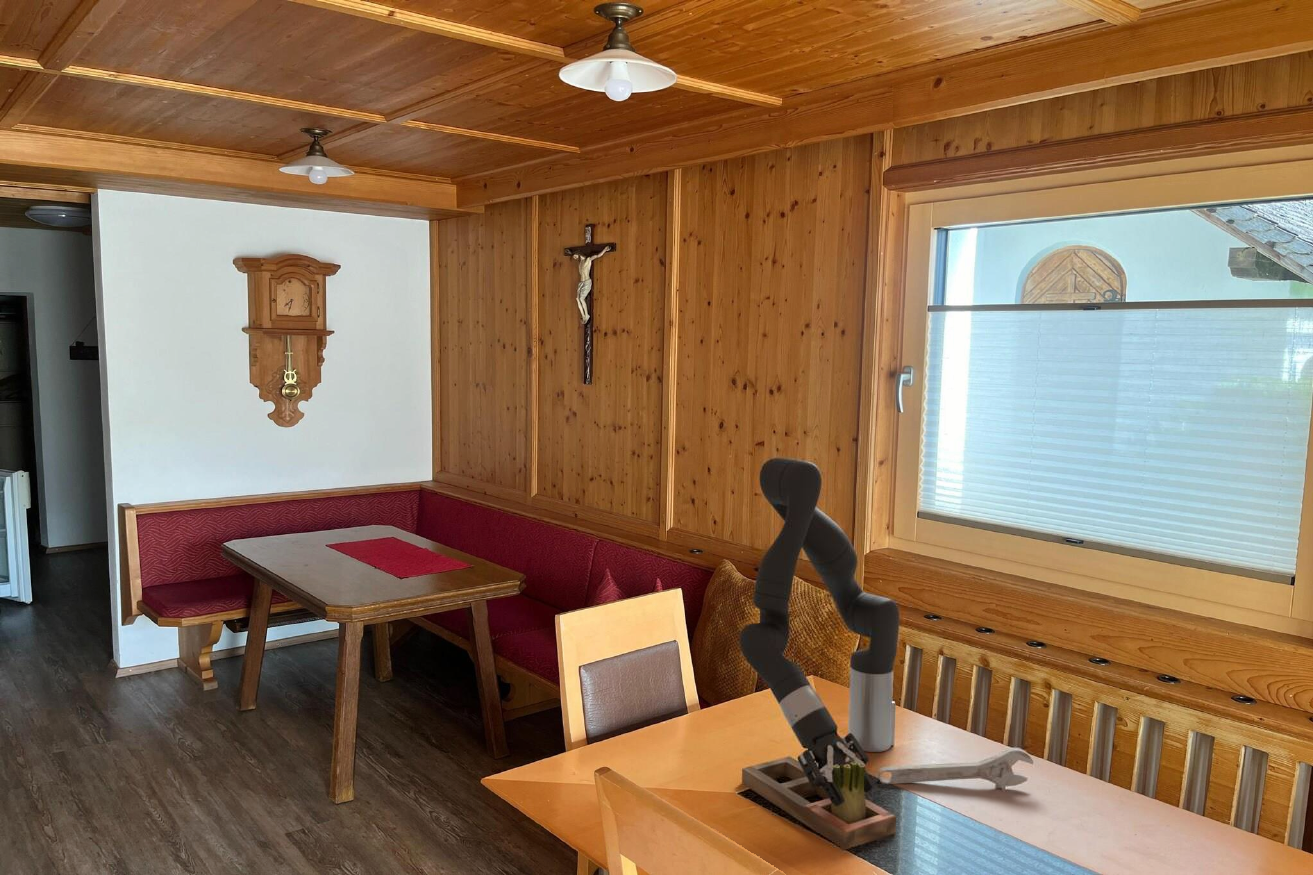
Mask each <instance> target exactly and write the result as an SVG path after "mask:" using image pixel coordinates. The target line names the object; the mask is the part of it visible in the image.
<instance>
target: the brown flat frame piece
mask: <svg viewBox="0 0 1313 875" xmlns="http://www.w3.org/2000/svg"><path fill="white" fill-rule="evenodd" d="M741 771H742V772H741V783H742V784H743V785H744V786H746V787H747V788H749V789H750V790H752V791H753V792H755V793H757V794H758V795H760V796H761V797H762V798H764V799H766V800H767V801H769V802H770V803H772V804H773V805H775V806H777V807H778V808H780V809H781V810H783V811H784V812H786V813H787V814H789V815H790V816H791V817H793V818H795V819H796V820H798V821H800V822H801V823H803V824H804V825H806V826H807V827H809V828H810V829H812V830H813V831H815V832H816V833H818V834H819V833H820V835H821V836H822V835H823V837H824V838H825V837H826V838H825V839H827V838H828V839H829V840H828V839H827V840H828V841H830V840H831V841H832V842H831V841H830V842H831V843H833V842H834V843H835V845H836V844H837V845H836V846H838V847H839V846H840V847H839V848H841V847H842V848H843V849H842V848H841V849H842V850H844V849H847V850H850V849H852V848H851V847H853V848H855V846H856V847H858V845H859V846H862V845H865V844H867V843H870V842H873V841H876V840H880V839H883V838H886V837H889V836H892V835H895V834H896V833H897V832H896V831H897V830H896V828H897V816H896V815H895V814H893V813H892V812H890V811H887V810H886V809H885V808H883V807H881V806H879V805H878V804H876V803H873V802H872V801H871V800H869V799H866V798H865V801H866V816H865V819H864V820H861V821H858V822H855V823H852V824H847V823H845V822H844V821H842V820H840V819H839V818H837V817H836V816H834V815H832V810H831V803H832V802H831V801H830V798H829V797H828V795H827V794H826V792H825V790H824V789H823V788H821V787H820V786H816V787H812V786H811V784H810V782H809V780H808V778H807V776H806V774H805V772H804V771H803V769H802V767H801V765H800V763H799V761H798V759H796V758H793V757H792V756H791V755H789V756H786V757H782V758H779V759H778V758H777V759H774V760H770V761H765V762H762V763H758V764H754V765H750V766H746V767H742V769H741ZM812 774H813V776H814V777H815V775H814V773H813V772H812ZM784 777H787V778H788V779H791V780H789V781H786V782H782V783H779V782H778V781H777V780H776V779H780V778H784ZM815 778H816V777H815ZM832 782H833V780H832ZM812 796H818V797H821V798H822V800H819V801H815V802H810V801H809V800H807V799H806V798H809V797H812ZM834 843H833V844H834ZM849 848H850V849H849Z"/></svg>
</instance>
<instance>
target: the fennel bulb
mask: <svg viewBox="0 0 1313 875" xmlns="http://www.w3.org/2000/svg"><path fill="white" fill-rule="evenodd" d="M856 766H857V764H856V763H853V762H851V768H850V765H848V764H846V765H844V768H843V767H842V768H843V769H842V771H841V766H839V765H834V766H833V770H832V781H833V782H835V784H836V785H837V787H838V789H839V791H840V792H841V794H842V796H843V797H844V800H845V801H844V802H843V803H842V804H841V805H839V806H835V805H834V804H833V803H831V810H832V815H834V816H836V817H837V818H839V819H840V820H842V821H844V822H845V823H847V824H852V823H855V822H858V821H861V820H864V819H865V816H866V801H865V799H866V796H865V795H866V793H865V792H864V775H865V770H866V765H865V766H864V765H862V764H858V766H857V767H856ZM856 769H857V772H856ZM841 772H842V775H841ZM841 777H842V778H841Z"/></svg>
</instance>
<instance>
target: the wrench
mask: <svg viewBox="0 0 1313 875" xmlns="http://www.w3.org/2000/svg"><path fill="white" fill-rule="evenodd" d="M1019 761H1021V762H1024V763H1028V764H1031V765H1033V764H1034V760H1033V758H1032V757H1031V755H1030V754H1029V753H1028V752H1027V751H1026V750H1024V749H1022V748H1020V747H1009V748H1007V749H1004V750H1003V751H1001V752H998V753H997V754H995V755H993V756H989V757H987V758H985V759H982V760H979V761H973V762H972V761H971V762H957V763H956V762H955V763H934V764H933V763H931V764H916V765H896V766H894V765H893V766H883V767H880V768H879V769H878V771H877V775H878V779H879V782H880V783H881V784H890V785H893V784H895V785H899V784H910V783H925V782H939V781H940V782H941V781H953V780H955V781H957V780H969V779H970V780H972V779H976V780H977V779H980V780H981V779H982V780H986V781H989V782H990V783H992V784H995V785H994V788H995V789H997V788H1000V789H1001V790H1002V791H1005V789H1006V787H1013V786H1014V787H1015V786H1018V785H1021V784H1023V783H1025V782H1027V781H1028V780H1029V778H1028V776H1027V775H1025V774H1022V773H1019V772H1016V771H1013V769H1012V767H1013V766H1014V765H1015V764H1016V763H1017V762H1019ZM884 772H887V773H890V774H891V776H890V777H889V778H888V779H884V778H882V777H881V776H882V774H883V773H884Z"/></svg>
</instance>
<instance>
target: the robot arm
mask: <svg viewBox="0 0 1313 875" xmlns="http://www.w3.org/2000/svg"><path fill="white" fill-rule="evenodd" d="M822 480H823V479H822V474H821V471H820V469H819V467H818V465H816V464H815V463H813V462H811V461H807V460H800V459H794V458H788V457H773V458H770V459H769V460H766V461H765V462H764V463H763V464H762V466H761V468H760V472H759V485H760V489H761V492H762V494H763V496H764V497H765V499H766V500H767V502H768V503H769V504H770V505H771V507H772V508H773V509H774V510H775V511H776V513H777V514H778V515H779V517H781V518H782V520H783V521H784V523H783V524H782V525H783V526H782V528H781V530H780V532H779V534H778V535H777V537H776V538H775V540H774V541H773V543H772V544H771V545H770V546H769V548H768V549H767V550H766V552H765V554H764V555H763V557H762V559H761V562H759V563H760V564H759V566H758V570H757V574H756V579H755V585H754V591H753V595H752V596H753V597H752V602H753V606H754V607H755V608H757V609H759V622H753V623H749V624H747V625H745V626H744V627H743V628H742V629H741V630H740V632H739V635H738V636H739V637H738V644H739V649H740V652H741V654H742V655H743V657H744V659H745V660H746V662H747V663H748V664H749V665H750V667H752V669H753V670H754V671H755V672H756V674H758V676H759V677H760V678H761V679H762V680H763V681H764V682H765V683H766V684H767V685H768V687H769V689H770V691H771V693H772V694H773V696H774V698H775V699H776V701H777V703H778V704H779V706H780V709H781V711H782V713H783V716H784V718H785V719H786V721H787V723H788V725H789V726H790V729H791V730H792V732H793V733H794V734H795V736H796V739H797V740H798V742H799V744H800V745H801V747H802V749H805V750H804V751H803V752H802V753H800V754H799V755H798V756H797V761H799V763H800V765H801V767H802V769H803V771H804V772H805V774H806V776H807V778H808V780H809V782H810V784H811V786H812V787H816V786H820V787H821V788H823V789H824V790H825V792H826V794H827V795H828V797H829V798H830V801H831V802H832V803H833V804H834V805H835V806H839V805H841V804H842V803H843V802H844V801H845V800H844V797H843V796H842V794H841V792H840V791H839V789H838V787H837V785H836V784H835V782H832V781H833V766H834V765H839V766H840V767H842V768H844V765H846V764H848V765H850V768H851V762H853V763H856V764H857V766H858V764H862V765H864V766H865V767H866V765H867V763H869V762H870V759H869V757H868V755H867V753H866V752H869V753H881V752H885V751H888V750H889V749H890V748H891V746H893V745H895V737H896V736H895V732H896V729H895V728H896V727H895V726H896V706H897V704H896V703H895V701H893V691H894V689H893V687H894V664H895V662H896V657H897V654H898V653H897V652H898V640H899V629H900V610H899V607H898V604H897V602H896V601H895V600H893V599H891V598H888V597H884V596H879V595H877V594H872V593H868V592H865V591H864V590H863V589H862V588H861V586H860V585H859V584H858V582H857V580H856V578H855V575H856V571H857V567H858V555H857V552H856V550H855V548H854V546H853V544H852V542H851V540H850V539H849V537H848V536H847V534H846V533H845V531H844V530H843V529H842V528H841V526H840V525H839V524H837V523H836V522H835V521H834V520H833V519H832V518H830V517H829V516H828V515H827V514H825V513H824V512H823V511H822V510H820V509H819V508H818V507H817V505H818V501H819V499H820V495H821V491H822V484H823V483H822V482H823V481H822ZM801 550H802V551H803V552H804V553H805V556H806V557H807V559H808V561H809V562H810V563H811V565H812V567H813V568H814V570H815V571H816V573H817V574H818V575H819V577H820V578H821V581H822V582H823V584H824V585H825V587H826V589H827V590H828V593H829V594H830V595H831V597H832V599H833V601H834V603H835V605H836V609H837V610H838V612H839V615H840V617H841V619H842V621H843V623H844V625H845V626H846V627H847V629H848V630H849V631H850V632H852V633H854V634H856V635H859V636H863V637H865V638H869V639H870V640H869V647H868V648H862V649H858V650H855V651H853V652H852V654H850V661H849V662H850V664H849V695H848V696H849V700H848V701H849V702H848V734H846V735H845V736H843V737H841V736H840V735H839V733H838V725H837V723H836V722H835V719H834V718H833V717H832V715H831V713H830V712H829V710H828V708H827V706H826V705H825V703H824V701H823V700H822V698H821V697H820V696H819V694H818V693H817V692H816V690H815V688H813V686H812V685H811V683H810V681H809V680H808V678H807V677H806V675H805V673H804V672H803V669H802V668H801V667H800V666H799V664H798V663H796V662H794V661H793V660H789V659H788V658H786V657H785V655H784V652H785V650H786V649H787V646H788V644H789V638H790V613H789V603H790V598H791V592H792V587H793V582H794V577H795V576H794V575H795V572H796V567H797V563H798V560H799V556H800V552H801ZM857 766H856V767H857ZM812 772H813V773H814V775H815V777H816V778H815V777H814V776H813V774H812ZM856 772H857V769H856ZM874 788H875V785H874V781H873V779H872V778H871V777H870V775H869V773H868V771H867V770H866V769H865V775H864V794H866V793H869V792H871V791H872V790H873V789H874Z"/></svg>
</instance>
